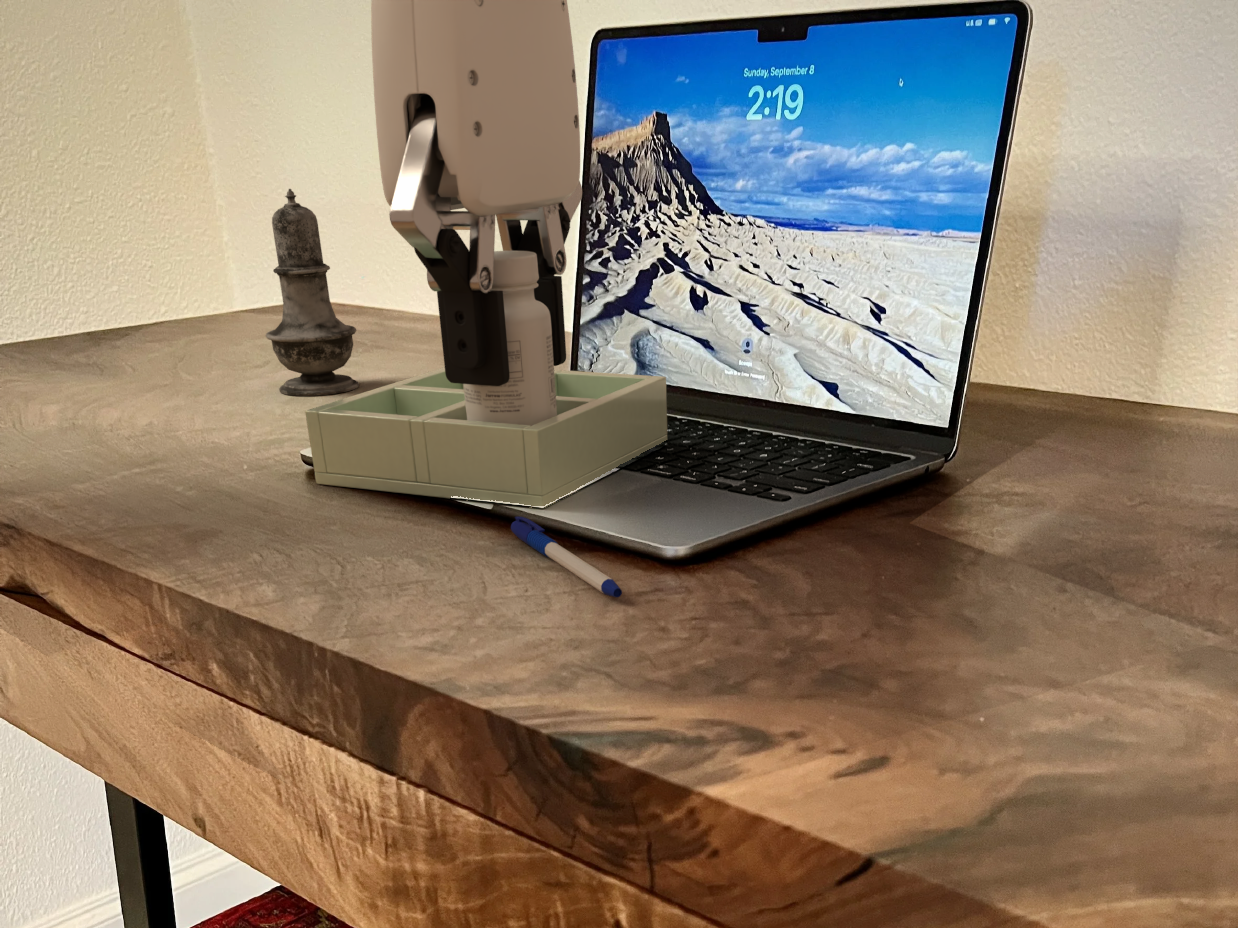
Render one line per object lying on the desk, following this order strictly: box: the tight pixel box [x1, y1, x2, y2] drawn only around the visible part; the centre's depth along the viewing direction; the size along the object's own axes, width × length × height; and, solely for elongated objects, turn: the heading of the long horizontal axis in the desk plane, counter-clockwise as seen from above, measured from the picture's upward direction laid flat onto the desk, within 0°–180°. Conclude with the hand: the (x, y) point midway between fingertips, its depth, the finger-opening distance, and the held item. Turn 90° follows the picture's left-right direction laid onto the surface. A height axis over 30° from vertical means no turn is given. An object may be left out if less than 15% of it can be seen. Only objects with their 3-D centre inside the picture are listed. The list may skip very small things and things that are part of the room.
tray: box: [304, 366, 669, 506], centre depth 69 cm, size 13×13×4 cm
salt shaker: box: [265, 188, 360, 397], centre depth 87 cm, size 6×6×12 cm
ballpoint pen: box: [510, 515, 623, 598], centre depth 55 cm, size 10×1×1 cm, turn 28°
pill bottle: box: [463, 250, 557, 426], centre depth 63 cm, size 4×4×8 cm
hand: (507, 368), depth 64 cm, fingers closed on pill bottle, 4 cm apart
